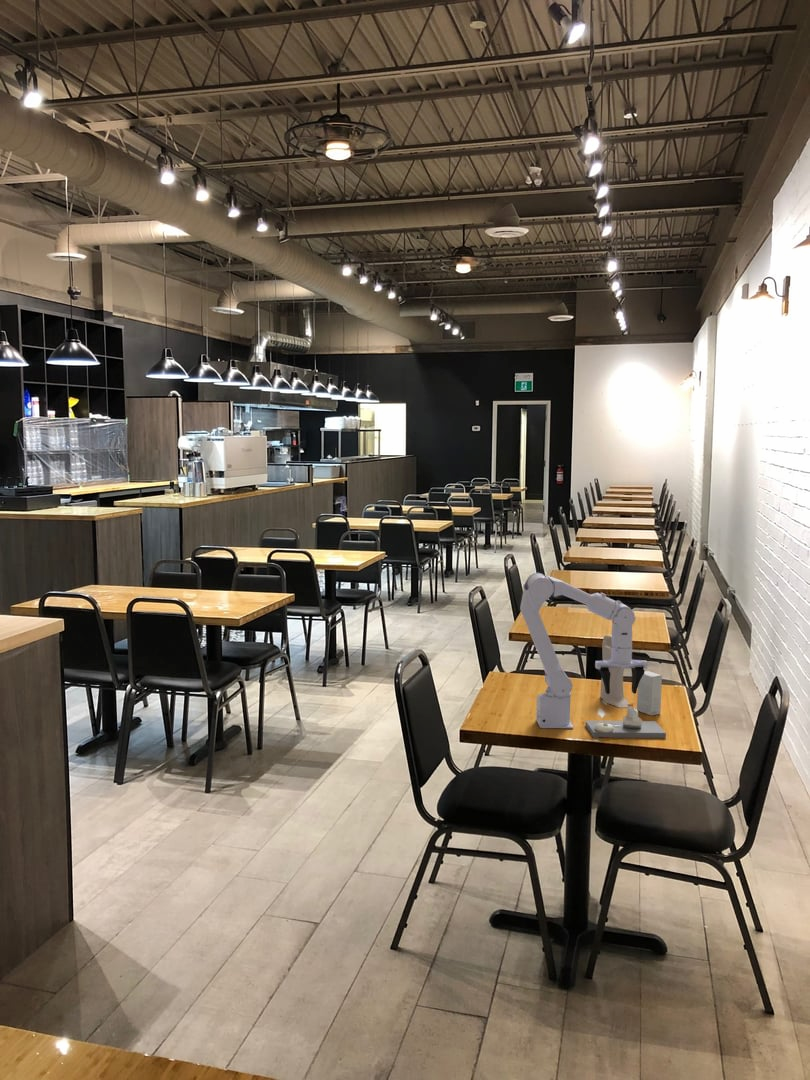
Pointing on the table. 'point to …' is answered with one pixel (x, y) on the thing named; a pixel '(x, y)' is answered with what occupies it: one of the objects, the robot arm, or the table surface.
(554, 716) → the robot arm
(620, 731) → the base
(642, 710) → the skincare box
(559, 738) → the table surface
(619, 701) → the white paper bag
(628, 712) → the knob
